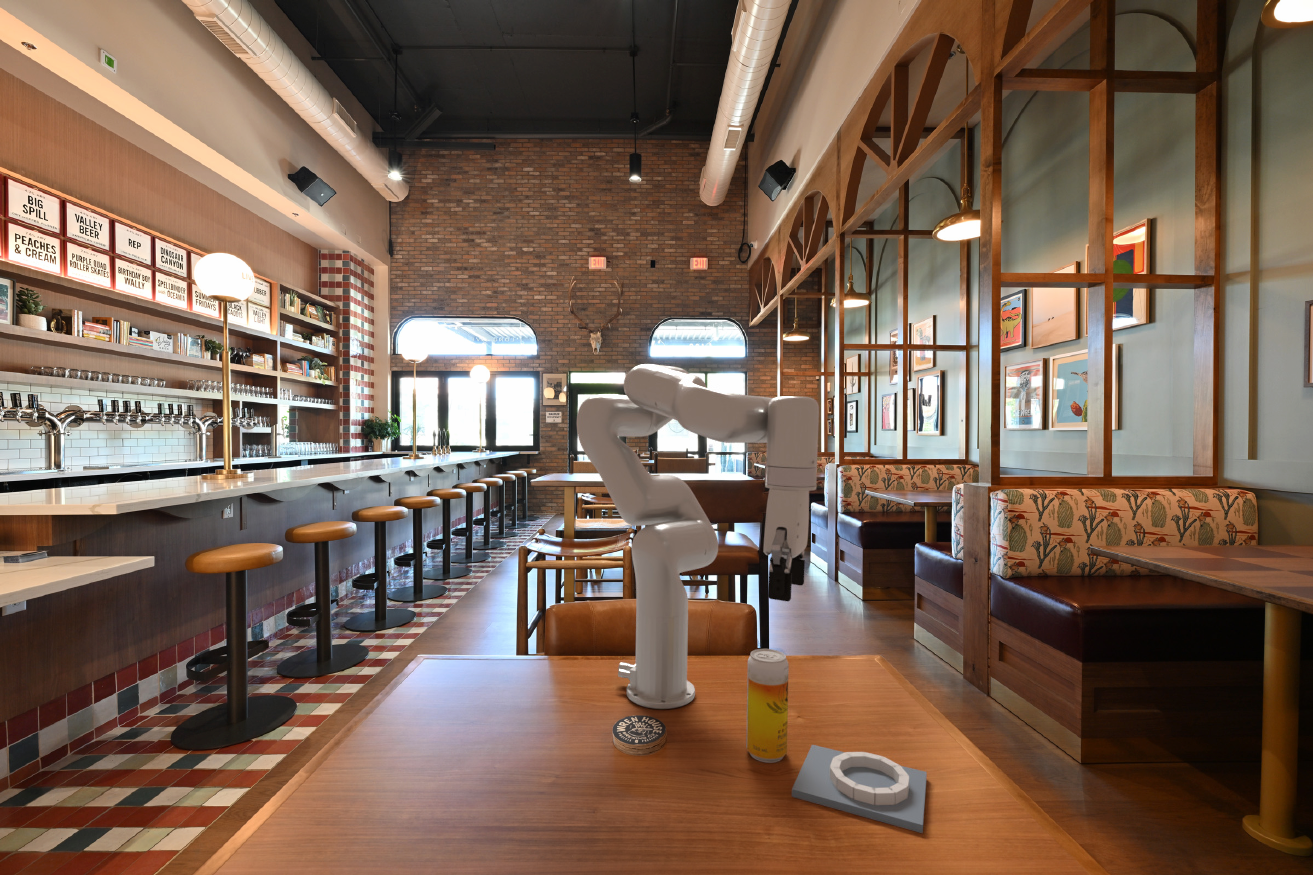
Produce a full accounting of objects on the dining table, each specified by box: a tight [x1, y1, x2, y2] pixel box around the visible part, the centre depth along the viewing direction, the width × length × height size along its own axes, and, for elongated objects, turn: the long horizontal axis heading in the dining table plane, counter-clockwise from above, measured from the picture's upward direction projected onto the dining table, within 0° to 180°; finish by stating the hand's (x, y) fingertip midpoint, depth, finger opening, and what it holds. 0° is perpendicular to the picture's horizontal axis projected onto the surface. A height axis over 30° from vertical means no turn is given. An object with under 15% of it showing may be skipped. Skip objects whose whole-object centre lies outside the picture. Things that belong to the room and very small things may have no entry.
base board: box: [791, 744, 928, 834], centre depth 83 cm, size 16×13×2 cm
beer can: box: [745, 648, 789, 764], centre depth 91 cm, size 6×6×15 cm
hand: (786, 591), depth 91 cm, fingers open, 9 cm apart
